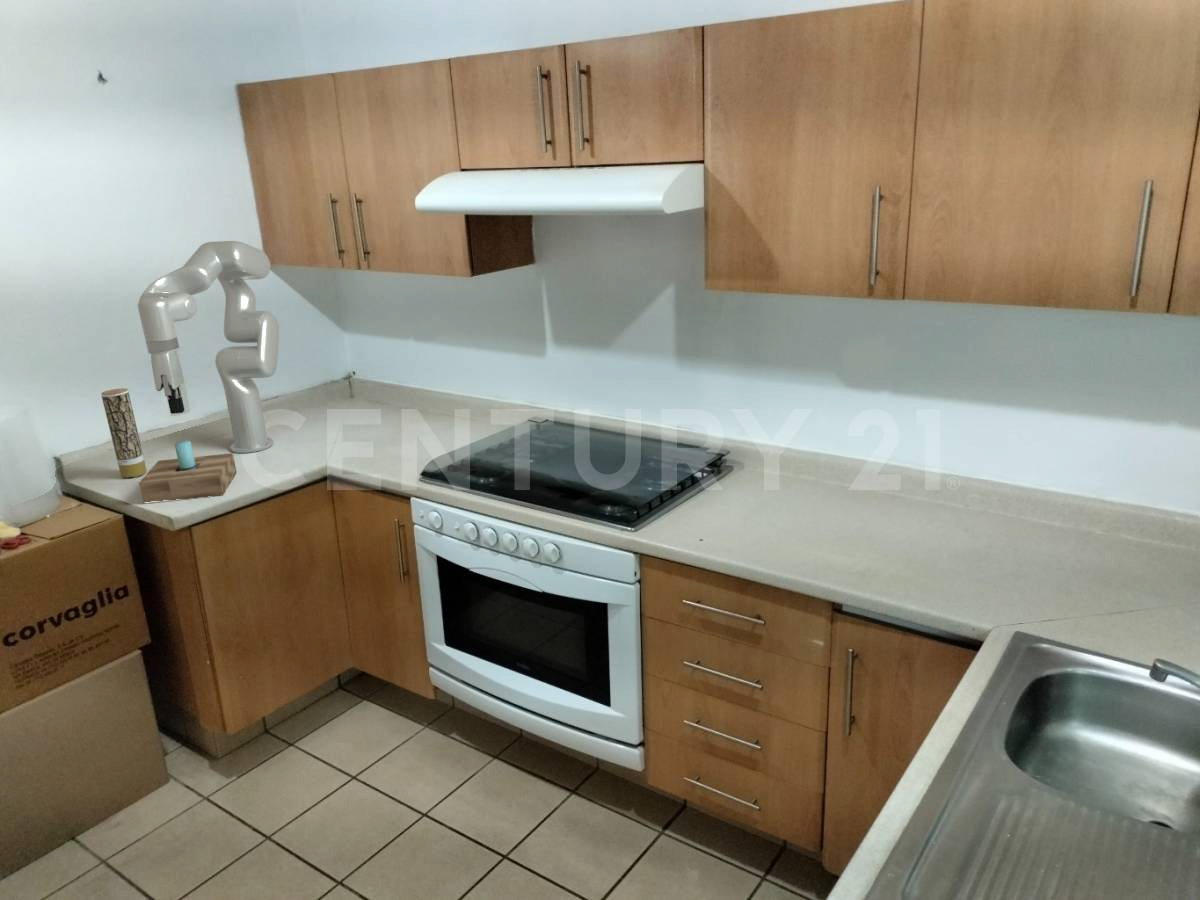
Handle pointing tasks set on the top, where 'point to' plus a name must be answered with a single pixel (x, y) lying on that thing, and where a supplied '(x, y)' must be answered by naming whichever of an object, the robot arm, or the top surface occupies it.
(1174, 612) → the top surface
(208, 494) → the socket block
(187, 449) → the peg
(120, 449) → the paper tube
